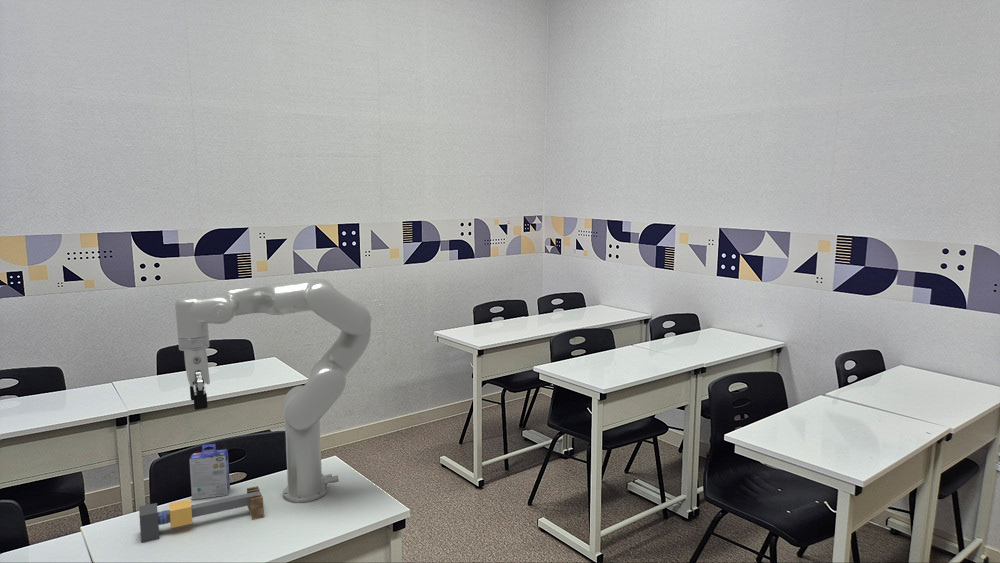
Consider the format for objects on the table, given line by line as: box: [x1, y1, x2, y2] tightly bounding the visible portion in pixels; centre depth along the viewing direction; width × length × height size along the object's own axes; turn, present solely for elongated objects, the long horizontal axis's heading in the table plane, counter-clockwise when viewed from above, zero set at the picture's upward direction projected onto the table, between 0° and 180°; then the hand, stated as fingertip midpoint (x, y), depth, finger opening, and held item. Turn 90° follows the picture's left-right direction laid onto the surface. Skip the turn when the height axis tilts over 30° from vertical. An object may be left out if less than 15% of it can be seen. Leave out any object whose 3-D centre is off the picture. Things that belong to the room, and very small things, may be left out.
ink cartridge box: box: [188, 443, 231, 501], centre depth 188 cm, size 10×6×14 cm, turn 108°
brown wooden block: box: [246, 485, 265, 520], centre depth 178 cm, size 3×8×6 cm, turn 29°
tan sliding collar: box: [168, 498, 193, 529], centre depth 169 cm, size 5×5×4 cm
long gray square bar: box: [158, 491, 262, 526], centre depth 172 cm, size 27×3×3 cm, turn 119°
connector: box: [138, 502, 163, 544], centre depth 166 cm, size 5×6×7 cm
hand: (199, 403), depth 178 cm, fingers open, 9 cm apart
